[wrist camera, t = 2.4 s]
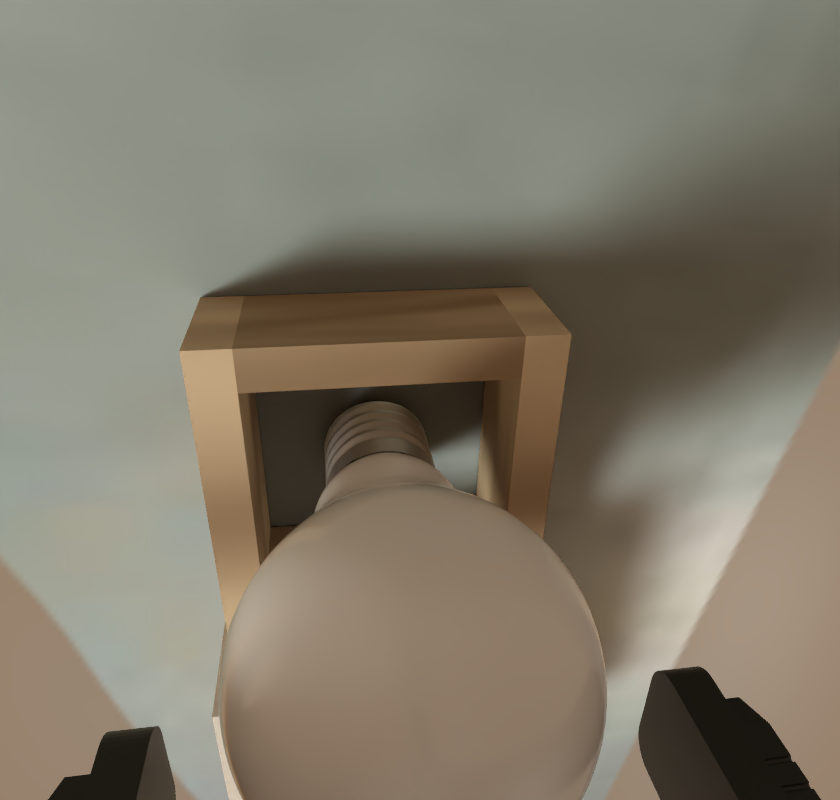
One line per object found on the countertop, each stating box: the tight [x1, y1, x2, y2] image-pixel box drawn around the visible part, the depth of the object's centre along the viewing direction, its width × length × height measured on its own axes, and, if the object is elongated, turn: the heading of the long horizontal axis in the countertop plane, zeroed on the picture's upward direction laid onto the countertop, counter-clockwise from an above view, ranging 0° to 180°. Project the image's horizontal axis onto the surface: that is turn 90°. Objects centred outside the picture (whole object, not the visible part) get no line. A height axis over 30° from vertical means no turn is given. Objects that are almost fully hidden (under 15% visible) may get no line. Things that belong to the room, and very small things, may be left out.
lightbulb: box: [218, 401, 607, 800], centre depth 13 cm, size 6×6×11 cm
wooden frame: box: [179, 287, 572, 633], centre depth 17 cm, size 8×8×3 cm
